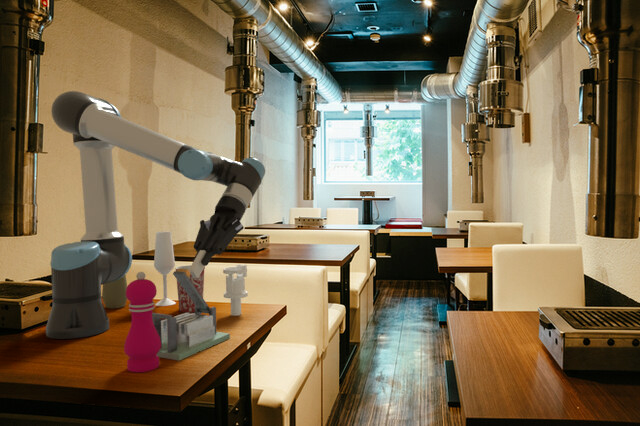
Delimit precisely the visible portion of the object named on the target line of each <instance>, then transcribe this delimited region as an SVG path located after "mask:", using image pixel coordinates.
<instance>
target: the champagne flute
mask: <svg viewBox="0 0 640 426" xmlns="http://www.w3.org/2000/svg"><path fill="white" fill-rule="evenodd" d="M154 243H155V245H154V258H153V259H154V260H153V261H154V262H153V266H154V269H155V270H156V271H157V272H158V273H159V274H161V275H162V285H163V287H162V288H163V291H162V292H163V298H162V299H161V300H159V301H157V302H156V303H154V306H157V307H166V306H174V305H176V304H177V302H175V301H174V300H173V299H170V298H168V280H167V277H168V275H169V274H170V273H171V271H172V270H173V269H175V268H174V267H175V265H176V260H175V254H174V244H173V237H172V231H170V230H169V231H157V232H155V242H154Z"/></svg>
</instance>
